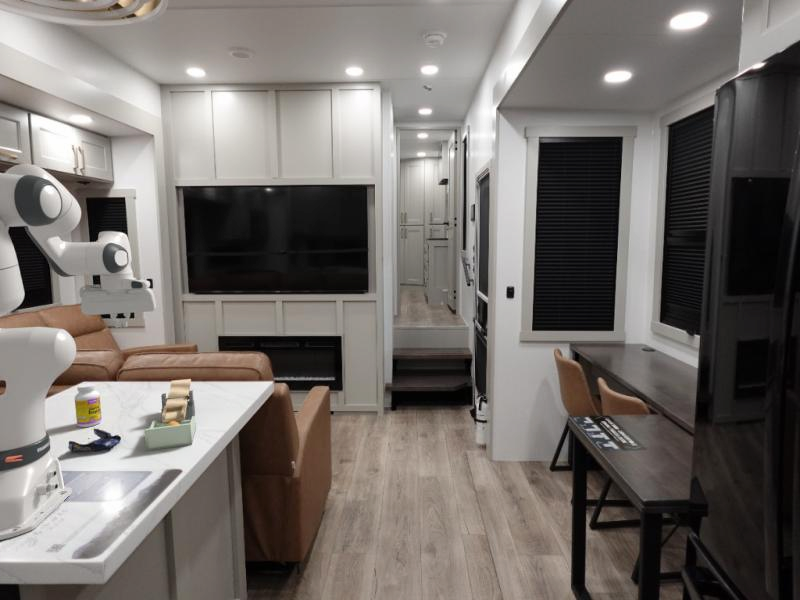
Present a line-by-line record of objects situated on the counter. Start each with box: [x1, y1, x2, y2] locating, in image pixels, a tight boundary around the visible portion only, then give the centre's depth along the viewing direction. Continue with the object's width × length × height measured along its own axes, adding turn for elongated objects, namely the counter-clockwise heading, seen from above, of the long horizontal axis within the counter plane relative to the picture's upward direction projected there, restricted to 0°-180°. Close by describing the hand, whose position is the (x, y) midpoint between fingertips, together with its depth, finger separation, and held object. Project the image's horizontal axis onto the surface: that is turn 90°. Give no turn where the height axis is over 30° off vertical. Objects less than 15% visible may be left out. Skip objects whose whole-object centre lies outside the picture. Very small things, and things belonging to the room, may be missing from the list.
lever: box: [161, 378, 192, 422], centre depth 150 cm, size 24×7×5 cm, turn 19°
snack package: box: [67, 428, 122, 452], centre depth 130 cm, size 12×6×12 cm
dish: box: [143, 415, 197, 452], centre depth 135 cm, size 13×12×6 cm
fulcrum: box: [161, 389, 196, 423], centre depth 150 cm, size 6×9×9 cm, turn 109°
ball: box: [167, 421, 180, 426], centre depth 138 cm, size 4×4×4 cm
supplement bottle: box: [74, 382, 103, 428], centre depth 148 cm, size 7×7×13 cm
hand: (121, 327), depth 146 cm, fingers closed
